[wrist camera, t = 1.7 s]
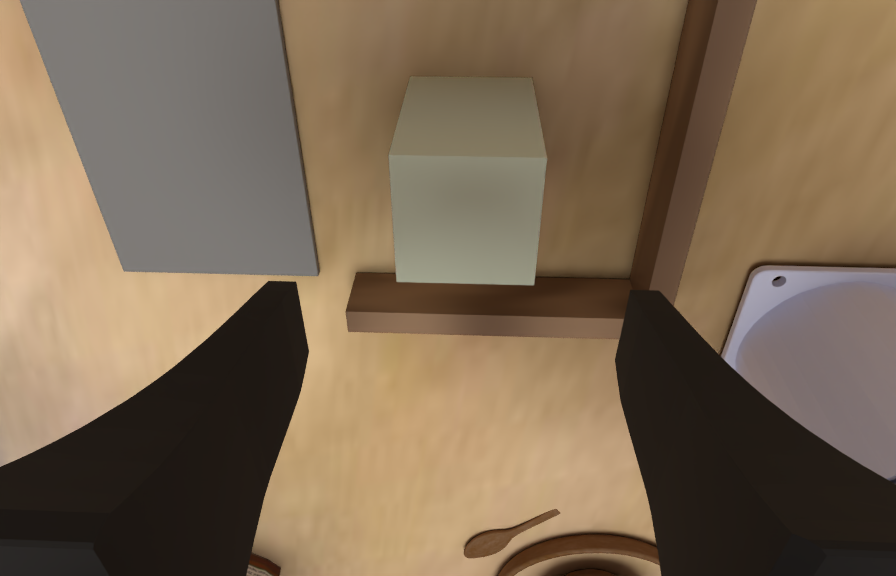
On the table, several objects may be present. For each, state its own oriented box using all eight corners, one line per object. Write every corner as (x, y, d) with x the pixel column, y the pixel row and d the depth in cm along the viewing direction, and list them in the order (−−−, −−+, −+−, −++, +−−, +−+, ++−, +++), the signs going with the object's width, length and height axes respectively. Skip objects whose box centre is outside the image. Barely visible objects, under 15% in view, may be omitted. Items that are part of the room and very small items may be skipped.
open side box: (747, -101, 17) (781, -90, 15) (649, 299, 26) (664, 340, 24) (314, -102, 18) (293, -92, 16) (358, 292, 26) (348, 331, 24)
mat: (268, -62, 18) (265, -60, 18) (319, 271, 26) (318, 276, 25) (2, -63, 19) (-4, -62, 18) (127, 267, 26) (123, 271, 26)
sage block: (532, 77, 21) (546, 158, 16) (523, 186, 23) (534, 285, 18) (410, 75, 21) (388, 155, 16) (414, 184, 23) (396, 282, 18)
